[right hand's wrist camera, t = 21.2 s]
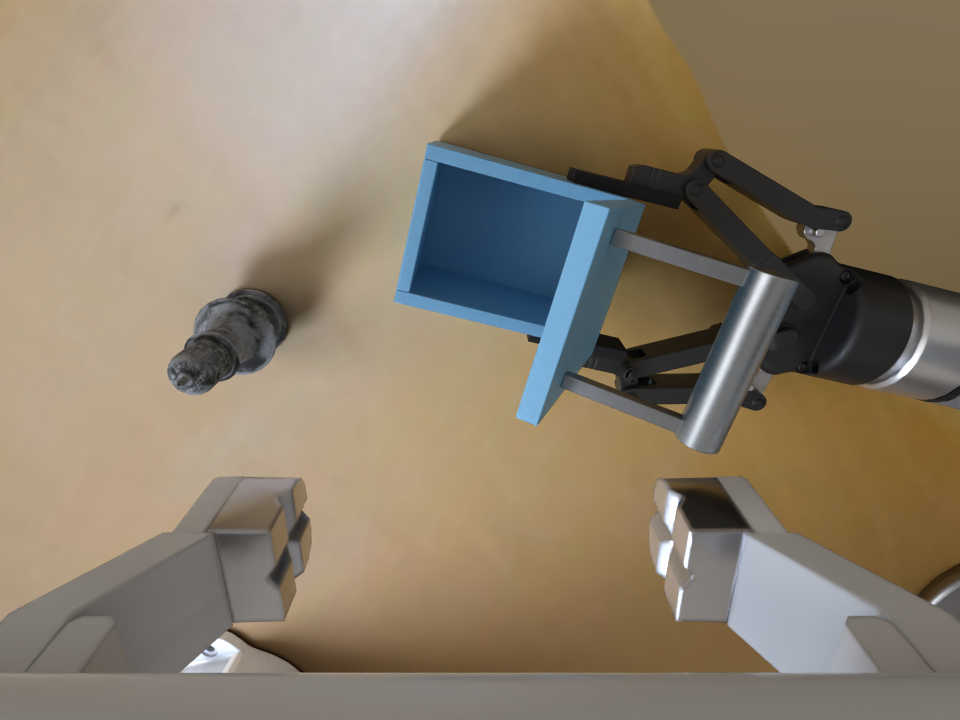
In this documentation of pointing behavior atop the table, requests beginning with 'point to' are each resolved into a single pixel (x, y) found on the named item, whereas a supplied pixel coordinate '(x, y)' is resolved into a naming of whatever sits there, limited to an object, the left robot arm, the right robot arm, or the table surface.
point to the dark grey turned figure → (229, 341)
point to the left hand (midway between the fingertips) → (548, 256)
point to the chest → (489, 238)
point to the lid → (585, 305)
